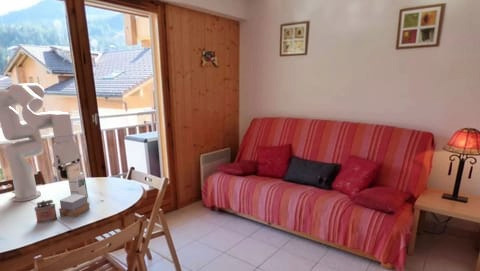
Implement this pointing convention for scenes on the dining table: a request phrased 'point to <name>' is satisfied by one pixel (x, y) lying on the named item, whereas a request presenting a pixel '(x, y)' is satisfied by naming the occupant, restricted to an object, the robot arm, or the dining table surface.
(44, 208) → the lighter
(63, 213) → the walnut block
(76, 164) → the birch cube
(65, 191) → the dining table surface
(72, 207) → the slate block
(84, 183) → the syrup box
